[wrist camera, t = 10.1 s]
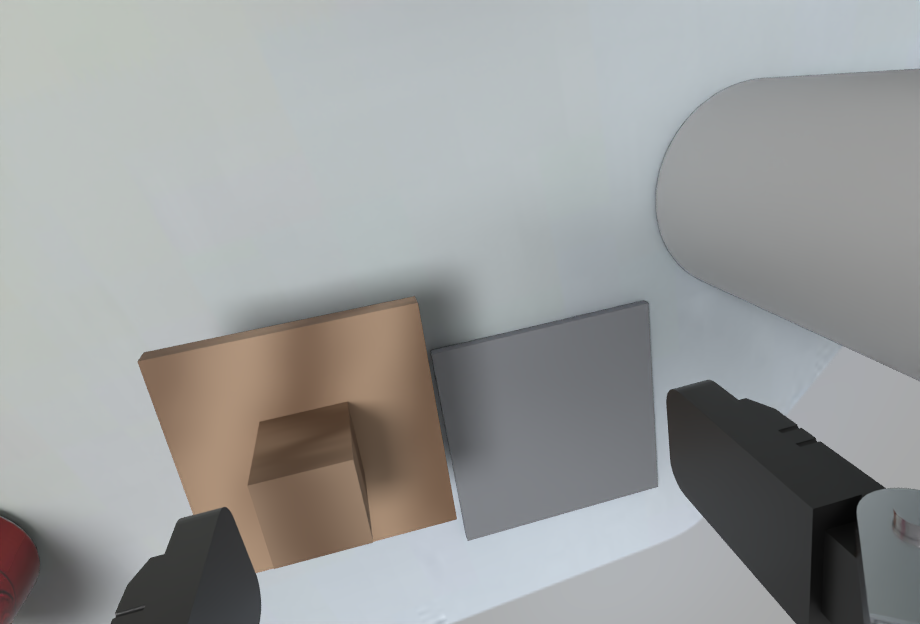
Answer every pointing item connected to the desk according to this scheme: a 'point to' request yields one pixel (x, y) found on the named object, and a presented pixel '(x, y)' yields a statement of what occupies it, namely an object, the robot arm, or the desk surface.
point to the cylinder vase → (806, 204)
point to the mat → (549, 417)
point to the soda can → (15, 569)
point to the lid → (308, 430)
